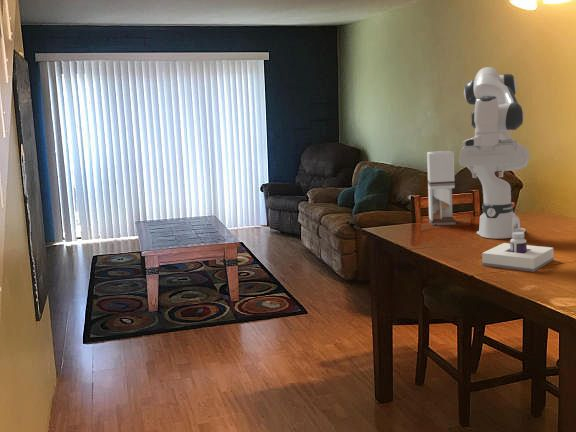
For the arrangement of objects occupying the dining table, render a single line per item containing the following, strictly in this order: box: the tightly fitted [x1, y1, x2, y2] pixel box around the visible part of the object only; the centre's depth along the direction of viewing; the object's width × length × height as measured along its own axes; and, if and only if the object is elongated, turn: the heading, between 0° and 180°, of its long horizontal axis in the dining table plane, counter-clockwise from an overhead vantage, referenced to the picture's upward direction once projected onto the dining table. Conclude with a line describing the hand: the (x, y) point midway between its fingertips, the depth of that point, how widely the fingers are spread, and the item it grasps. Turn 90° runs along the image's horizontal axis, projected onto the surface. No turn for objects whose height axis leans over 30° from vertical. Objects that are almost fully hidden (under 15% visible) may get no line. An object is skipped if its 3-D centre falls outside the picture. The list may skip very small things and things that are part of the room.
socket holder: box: [481, 242, 554, 273], centre depth 206 cm, size 18×18×4 cm
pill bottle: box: [509, 232, 528, 254], centre depth 205 cm, size 5×5×10 cm
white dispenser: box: [426, 150, 457, 226], centre depth 285 cm, size 11×11×35 cm
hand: (487, 177), depth 218 cm, fingers open, 8 cm apart
